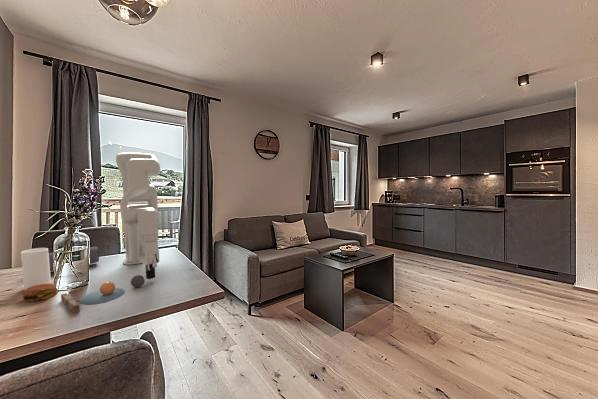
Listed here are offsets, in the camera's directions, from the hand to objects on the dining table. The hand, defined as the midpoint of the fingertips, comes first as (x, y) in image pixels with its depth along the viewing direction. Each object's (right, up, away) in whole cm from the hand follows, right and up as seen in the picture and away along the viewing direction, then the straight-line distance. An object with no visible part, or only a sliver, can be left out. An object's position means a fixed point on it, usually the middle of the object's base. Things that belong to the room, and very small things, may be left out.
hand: (150, 278), depth 118 cm
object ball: (-10, 0, -13) cm, 16 cm away
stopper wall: (-17, -4, -22) cm, 28 cm away
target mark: (-11, -3, -14) cm, 18 cm away
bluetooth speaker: (-51, -1, +18) cm, 54 cm away
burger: (-35, -4, -14) cm, 38 cm away
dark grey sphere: (-2, 0, -6) cm, 6 cm away
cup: (-46, -3, -5) cm, 46 cm away
